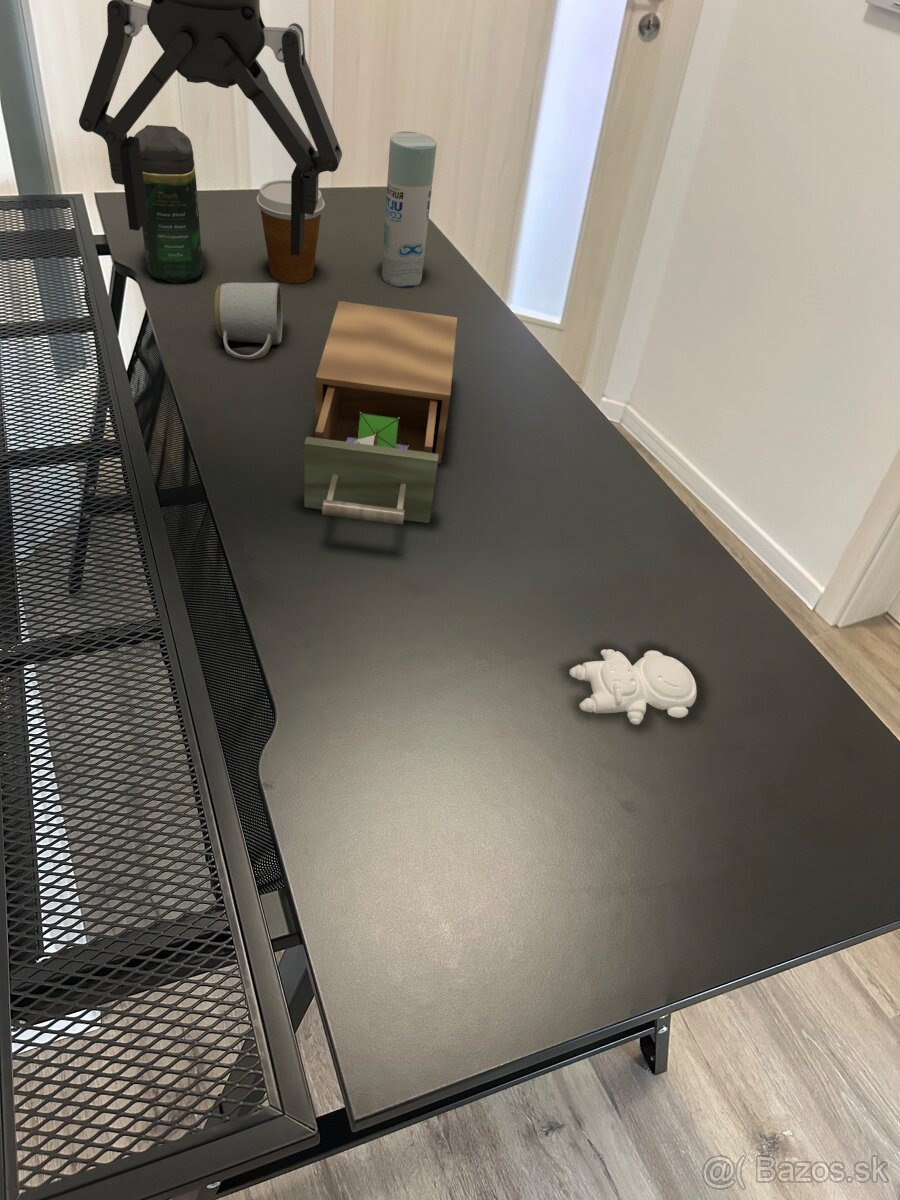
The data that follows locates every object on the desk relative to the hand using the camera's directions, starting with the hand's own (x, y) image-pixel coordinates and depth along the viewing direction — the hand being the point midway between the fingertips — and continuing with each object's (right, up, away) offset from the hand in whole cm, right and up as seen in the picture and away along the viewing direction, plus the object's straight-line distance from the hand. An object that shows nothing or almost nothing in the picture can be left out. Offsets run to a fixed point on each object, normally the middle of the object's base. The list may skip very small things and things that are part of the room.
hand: (218, 236), depth 74 cm
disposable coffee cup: (-4, +18, +55) cm, 58 cm away
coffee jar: (-20, +17, +52) cm, 58 cm away
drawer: (+11, -19, +21) cm, 30 cm away
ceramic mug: (-6, +2, +40) cm, 40 cm away
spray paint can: (+12, +18, +59) cm, 63 cm away
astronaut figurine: (+37, -40, +6) cm, 55 cm away
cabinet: (+12, -9, +32) cm, 35 cm away
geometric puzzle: (+12, -17, +21) cm, 30 cm away
